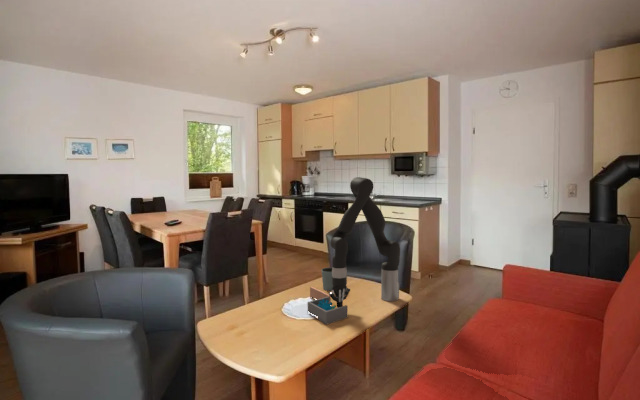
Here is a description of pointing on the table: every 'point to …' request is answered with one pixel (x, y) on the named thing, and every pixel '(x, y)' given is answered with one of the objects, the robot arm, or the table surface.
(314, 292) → the tan thin board
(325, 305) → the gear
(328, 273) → the grey green cup
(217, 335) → the table surface
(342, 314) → the housing
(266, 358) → the table surface
